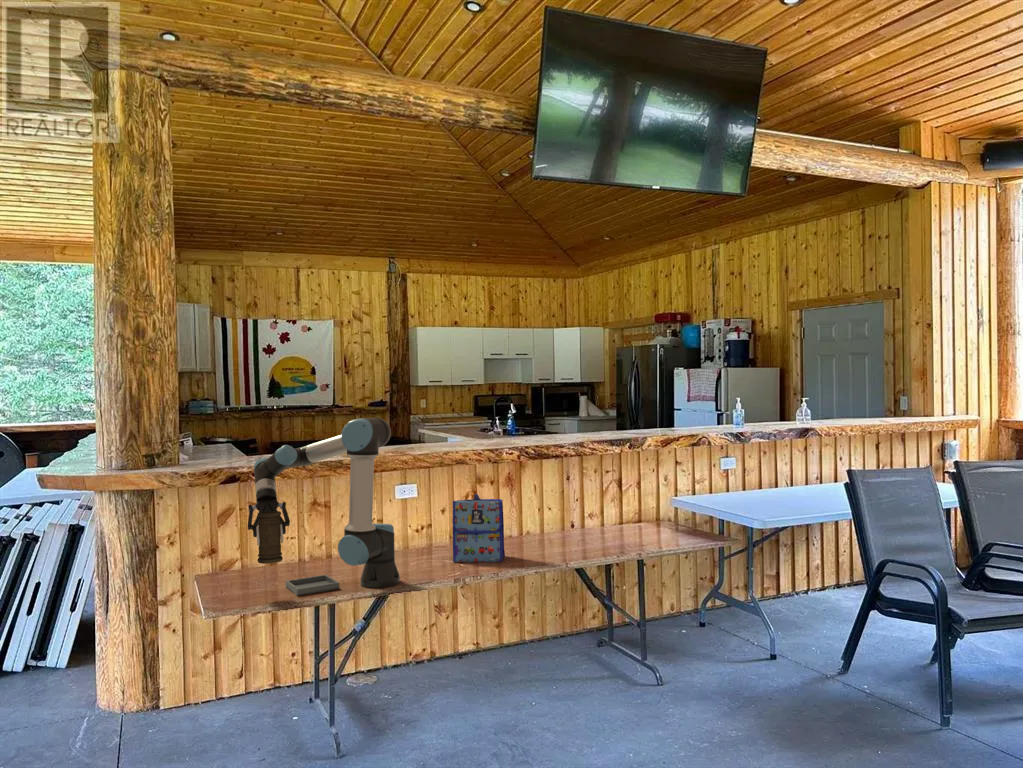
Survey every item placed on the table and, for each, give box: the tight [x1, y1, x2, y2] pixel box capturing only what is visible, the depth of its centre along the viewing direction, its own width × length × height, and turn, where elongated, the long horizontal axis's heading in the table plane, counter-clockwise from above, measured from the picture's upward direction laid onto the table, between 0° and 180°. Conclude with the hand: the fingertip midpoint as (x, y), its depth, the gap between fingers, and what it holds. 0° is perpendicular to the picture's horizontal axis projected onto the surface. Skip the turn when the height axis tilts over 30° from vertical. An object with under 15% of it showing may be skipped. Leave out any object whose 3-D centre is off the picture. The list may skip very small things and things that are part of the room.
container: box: [256, 510, 284, 565], centre depth 277 cm, size 9×9×18 cm
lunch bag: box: [451, 493, 506, 563], centre depth 329 cm, size 22×14×29 cm, turn 86°
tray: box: [285, 574, 341, 597], centre depth 287 cm, size 16×16×2 cm
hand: (270, 542), depth 274 cm, fingers closed on container, 8 cm apart
